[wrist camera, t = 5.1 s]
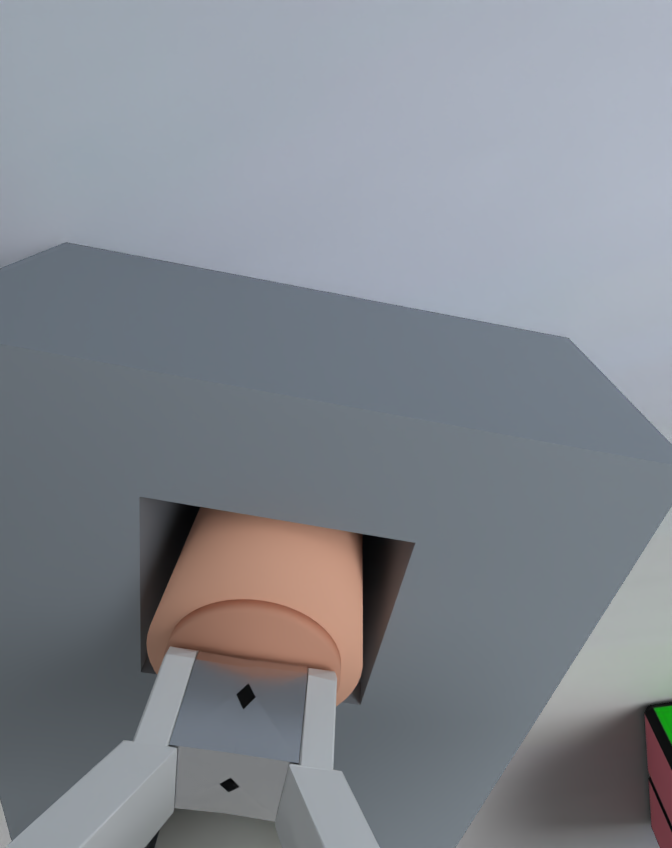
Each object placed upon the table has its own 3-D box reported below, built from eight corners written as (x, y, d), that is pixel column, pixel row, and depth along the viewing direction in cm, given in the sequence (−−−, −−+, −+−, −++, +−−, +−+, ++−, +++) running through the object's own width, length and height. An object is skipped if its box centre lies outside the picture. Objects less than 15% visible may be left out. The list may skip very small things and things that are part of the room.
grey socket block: (65, 242, 13) (-130, 320, 8) (568, 338, 14) (695, 469, 9) (100, 711, 23) (23, 884, 18) (392, 754, 24) (401, 933, 18)
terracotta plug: (232, 387, 14) (139, 578, 8) (375, 413, 15) (385, 618, 9) (222, 501, 16) (140, 722, 10) (348, 522, 17) (340, 751, 11)
